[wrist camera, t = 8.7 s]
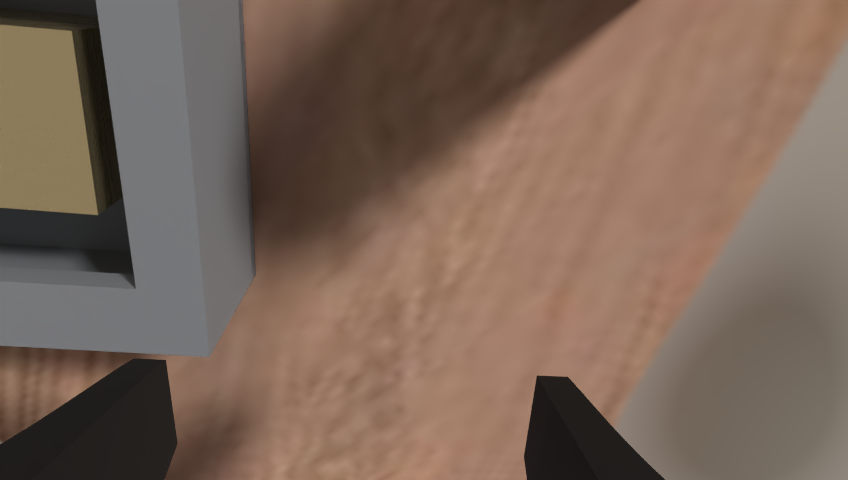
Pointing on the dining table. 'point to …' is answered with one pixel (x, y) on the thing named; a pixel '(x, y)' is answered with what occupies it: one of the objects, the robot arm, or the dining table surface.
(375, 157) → the dining table surface
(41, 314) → the grey open bin
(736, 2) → the dining table surface
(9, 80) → the tan cube
